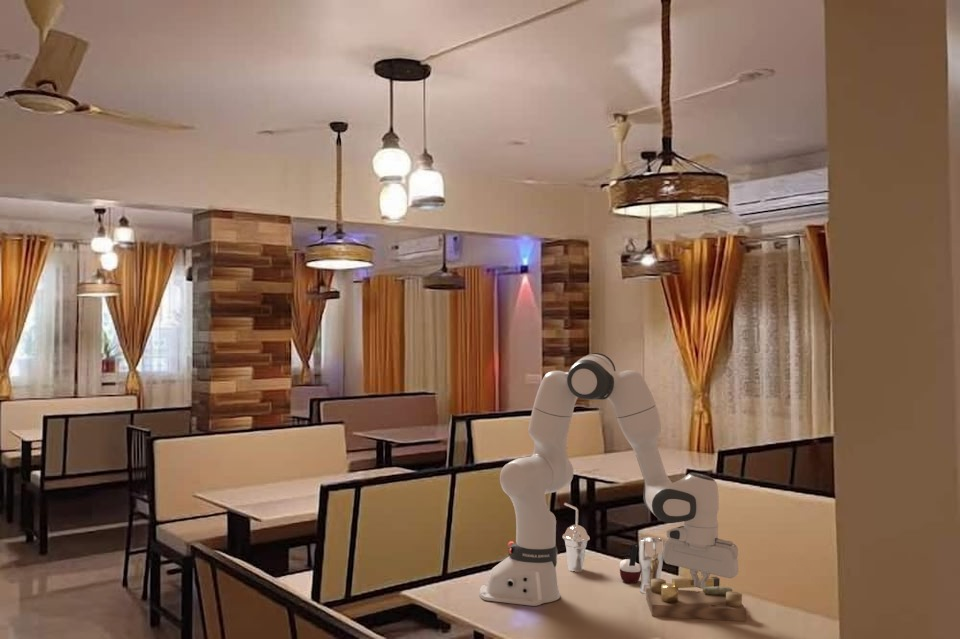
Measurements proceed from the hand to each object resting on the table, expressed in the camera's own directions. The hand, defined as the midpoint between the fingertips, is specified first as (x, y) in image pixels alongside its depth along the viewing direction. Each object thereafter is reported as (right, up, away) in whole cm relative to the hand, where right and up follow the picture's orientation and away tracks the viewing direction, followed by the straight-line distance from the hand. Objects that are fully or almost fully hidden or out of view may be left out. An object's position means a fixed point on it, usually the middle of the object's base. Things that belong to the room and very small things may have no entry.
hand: (699, 587), depth 218 cm
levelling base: (-1, -7, +3) cm, 8 cm away
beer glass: (-9, -7, +18) cm, 21 cm away
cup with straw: (-29, -7, +38) cm, 48 cm away
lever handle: (-2, -4, +2) cm, 4 cm away
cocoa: (-14, -7, +27) cm, 31 cm away
